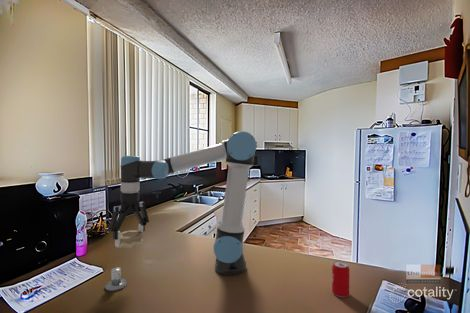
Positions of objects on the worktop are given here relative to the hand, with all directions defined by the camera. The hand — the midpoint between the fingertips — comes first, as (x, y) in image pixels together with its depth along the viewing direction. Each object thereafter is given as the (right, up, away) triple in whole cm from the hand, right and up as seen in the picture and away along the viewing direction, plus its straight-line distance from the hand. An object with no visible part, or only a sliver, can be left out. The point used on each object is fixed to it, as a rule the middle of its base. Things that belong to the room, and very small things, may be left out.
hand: (129, 242), depth 106 cm
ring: (0, 0, 0) cm, 0 cm away
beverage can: (+87, -17, -10) cm, 89 cm away
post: (-4, -17, -4) cm, 18 cm away
